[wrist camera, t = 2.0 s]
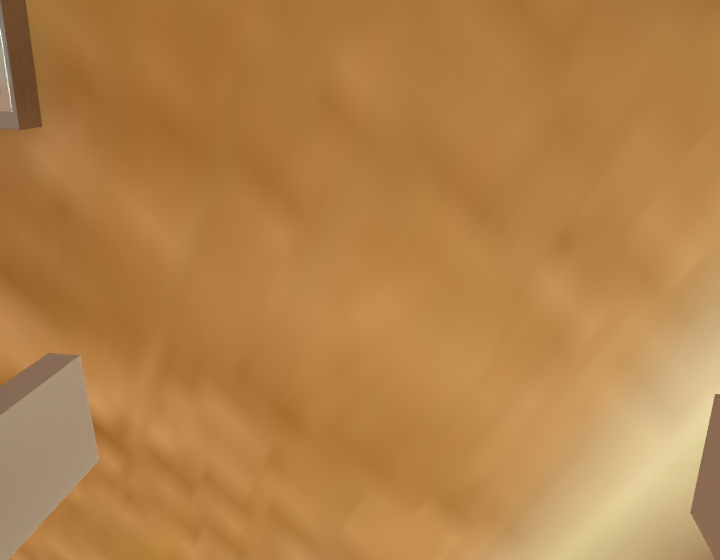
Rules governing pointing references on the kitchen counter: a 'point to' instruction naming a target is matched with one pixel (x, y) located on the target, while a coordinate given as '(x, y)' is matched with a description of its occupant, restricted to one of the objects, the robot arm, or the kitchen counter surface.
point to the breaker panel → (16, 69)
